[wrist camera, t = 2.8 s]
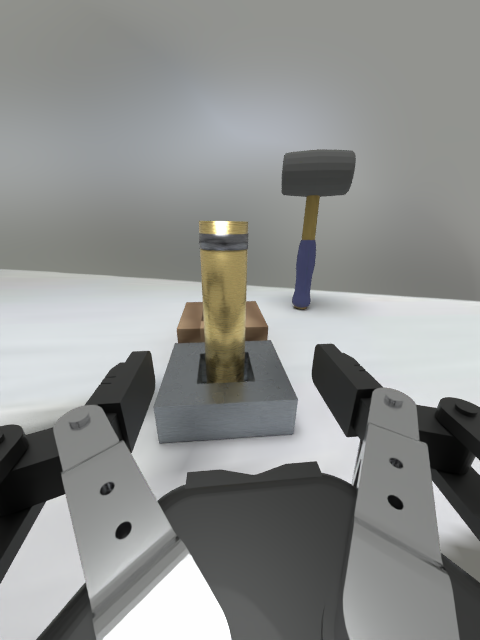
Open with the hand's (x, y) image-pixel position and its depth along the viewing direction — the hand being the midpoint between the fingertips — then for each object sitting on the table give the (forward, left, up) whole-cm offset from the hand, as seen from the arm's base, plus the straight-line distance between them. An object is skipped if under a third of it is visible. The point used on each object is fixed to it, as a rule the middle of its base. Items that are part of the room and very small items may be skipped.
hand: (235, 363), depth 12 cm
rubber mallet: (+18, +40, -12) cm, 45 cm away
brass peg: (0, +11, -12) cm, 16 cm away
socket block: (0, +11, -12) cm, 16 cm away
